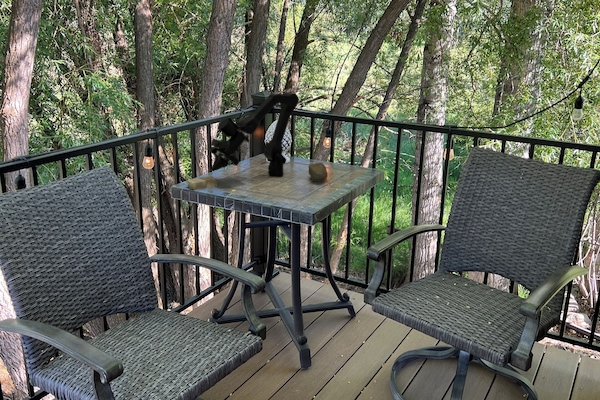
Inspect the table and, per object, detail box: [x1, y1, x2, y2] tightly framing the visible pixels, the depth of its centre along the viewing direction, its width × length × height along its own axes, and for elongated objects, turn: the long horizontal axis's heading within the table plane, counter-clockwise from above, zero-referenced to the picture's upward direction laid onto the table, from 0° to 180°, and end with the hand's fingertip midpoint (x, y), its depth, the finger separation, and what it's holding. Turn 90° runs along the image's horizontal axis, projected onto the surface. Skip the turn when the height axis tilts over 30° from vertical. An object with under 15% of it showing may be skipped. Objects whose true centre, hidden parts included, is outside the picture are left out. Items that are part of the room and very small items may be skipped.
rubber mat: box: [215, 176, 246, 190], centre depth 260 cm, size 13×14×1 cm
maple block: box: [186, 175, 217, 191], centre depth 253 cm, size 4×6×11 cm
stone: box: [308, 162, 328, 182], centre depth 266 cm, size 17×9×8 cm, turn 6°
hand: (211, 170), depth 254 cm, fingers closed
